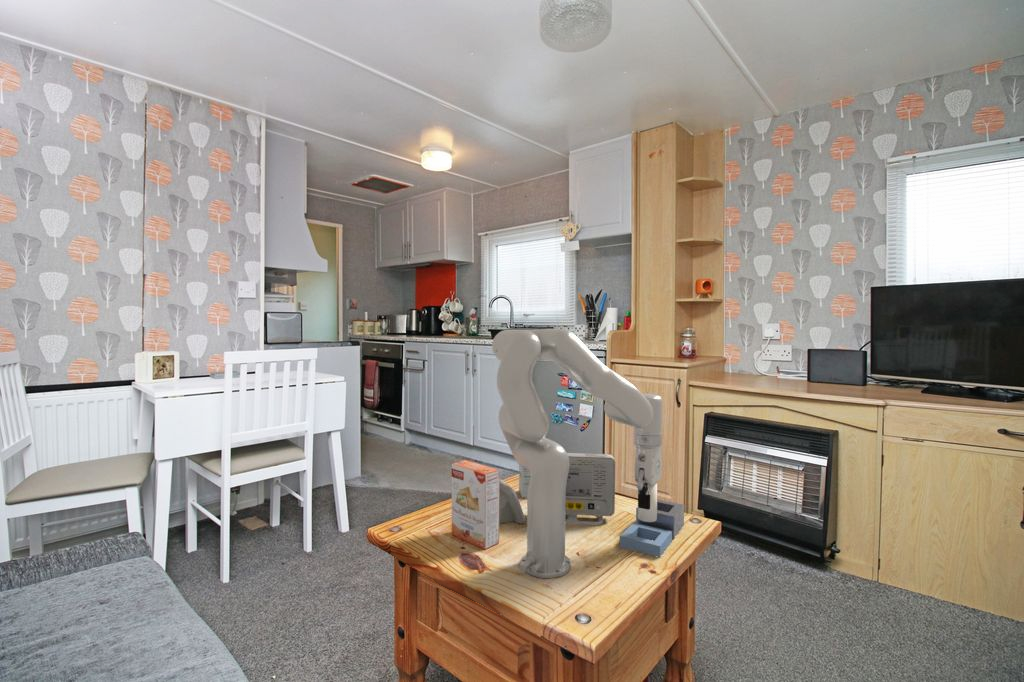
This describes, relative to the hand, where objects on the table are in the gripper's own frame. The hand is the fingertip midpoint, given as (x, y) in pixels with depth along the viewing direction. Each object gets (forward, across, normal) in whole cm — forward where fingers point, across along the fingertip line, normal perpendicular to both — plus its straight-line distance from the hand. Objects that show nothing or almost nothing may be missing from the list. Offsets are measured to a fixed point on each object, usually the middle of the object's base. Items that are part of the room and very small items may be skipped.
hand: (647, 504), depth 136 cm
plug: (+4, 0, 0) cm, 4 cm away
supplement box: (+11, +16, +47) cm, 51 cm away
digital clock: (+11, -5, +43) cm, 44 cm away
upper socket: (+11, +13, 0) cm, 17 cm away
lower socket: (+11, 0, 0) cm, 11 cm away
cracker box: (+11, -24, +41) cm, 49 cm away
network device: (+11, +5, +25) cm, 28 cm away
